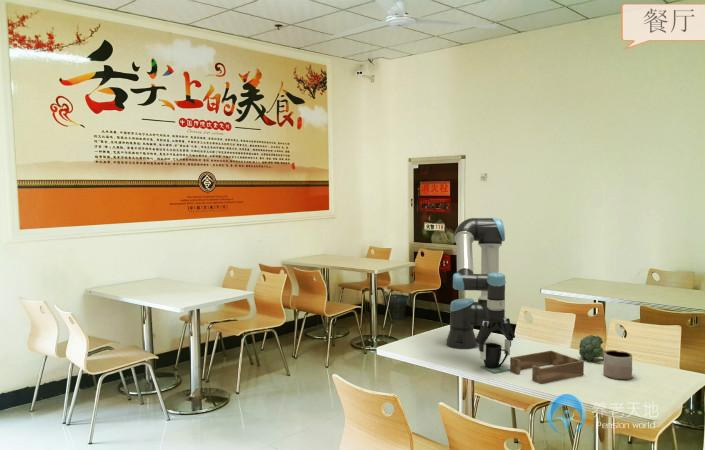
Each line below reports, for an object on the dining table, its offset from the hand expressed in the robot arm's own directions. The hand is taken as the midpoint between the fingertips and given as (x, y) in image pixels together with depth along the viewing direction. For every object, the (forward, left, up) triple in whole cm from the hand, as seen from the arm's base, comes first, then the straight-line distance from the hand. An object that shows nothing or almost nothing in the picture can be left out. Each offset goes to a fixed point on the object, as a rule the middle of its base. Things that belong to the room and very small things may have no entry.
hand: (495, 356), depth 241 cm
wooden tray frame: (+14, +16, -5) cm, 22 cm away
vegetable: (+10, +50, -6) cm, 52 cm away
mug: (0, 0, -5) cm, 5 cm away
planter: (+30, +40, -6) cm, 50 cm away
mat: (0, 0, -5) cm, 5 cm away
